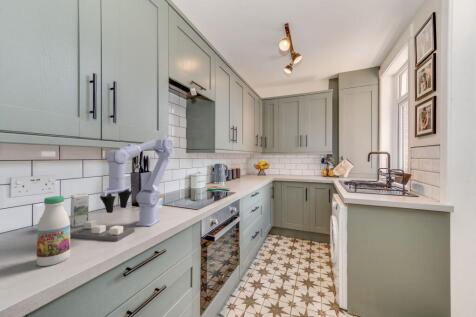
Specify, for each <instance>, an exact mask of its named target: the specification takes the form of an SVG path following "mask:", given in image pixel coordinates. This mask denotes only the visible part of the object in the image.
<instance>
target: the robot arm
mask: <svg viewBox="0 0 476 317" xmlns="http://www.w3.org/2000/svg"><path fill="white" fill-rule="evenodd" d="M174 147H175V146H174V143H173V141H172V139H171V138H168V137H167V138H154V139H149V140H148V141H145V142H142V143H140V144H135V143H128V144H127V145H126V146H123V147H122V146H120V147H117V148H118V149H111V150H109V151H108V152H107V154H106V156H104V157H105V161H106V162H107V164H108V187H107V189H104V190H101V191H100V196H99V199H100V200H101V201H102V203H103V205H104V208H105V212H106V214H113V211H114V205H115V204H114V203H115V200H116V198H117V196H116V195H115V194H118V197H119V206H120V209H126V208H127V205H128V202H129V199H130V197H131V194H132V192H133V191H132V190H131V188H132V187H131V185H125V184H126V182H125V181H126V180H125V179H126V178H125V176H126V174H125V165H126V163H127V162H128V160H131V159H133V158H136V157H138V156H140V154H141V152H145V151H147V150H150V149H152V150H153V151H154V152H155V154H156V155H157V156H158V160H156V161H157V162H156V164H155V166H154V168H153V171H152V172H151V175H150V176H149V179H148V181H147V184H146V185H145V186H143V187H141V190H140V191H139V192H138V193H137V195H136V197H135V200H136V202H137V203H138V206H139V221H138V222H137V223H135V224H134V225H135V226H141V227H151V226H153V225H155V224H156V223H158V222H160V221H161V219H160V207H159V205H158V203H159V200H160V195H161V191H160V189H159V186H160V185H161V182H162V180H163V177H164V175H165V172H166V170H167V167H168V165H169V163H170V161H171V157H172V151H173V149H174Z"/></svg>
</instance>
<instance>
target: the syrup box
mask: <svg viewBox="0 0 476 317" xmlns="http://www.w3.org/2000/svg"><path fill="white" fill-rule="evenodd" d="M89 199H90V197H89V195H88V194H87V193H80V194H79V193H78V194H71V195H70V227H72V228H73V229H74V228H78V227H84V222H87V221H89V207H90V206H89V204H90V203H89V202H90V200H89Z"/></svg>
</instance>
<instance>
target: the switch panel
mask: <svg viewBox="0 0 476 317" xmlns="http://www.w3.org/2000/svg"><path fill="white" fill-rule="evenodd" d="M111 227H112V226H107V225H106V231H104V232H102V233H100V234H98V233H92V229H87V228H84V227H81V228H79V229H78V230H74V231H72V232H70V238H75V239H86V240H87V239H88V240H97V241H99V240H100V241H108V242H119V241H120V240H122V239H124V238H127V237H128V236H129V235H131V234H133V233H135V230H136V229H135V227H123V232H122V233H121V234H119V235H112V234H110V228H111Z"/></svg>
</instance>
